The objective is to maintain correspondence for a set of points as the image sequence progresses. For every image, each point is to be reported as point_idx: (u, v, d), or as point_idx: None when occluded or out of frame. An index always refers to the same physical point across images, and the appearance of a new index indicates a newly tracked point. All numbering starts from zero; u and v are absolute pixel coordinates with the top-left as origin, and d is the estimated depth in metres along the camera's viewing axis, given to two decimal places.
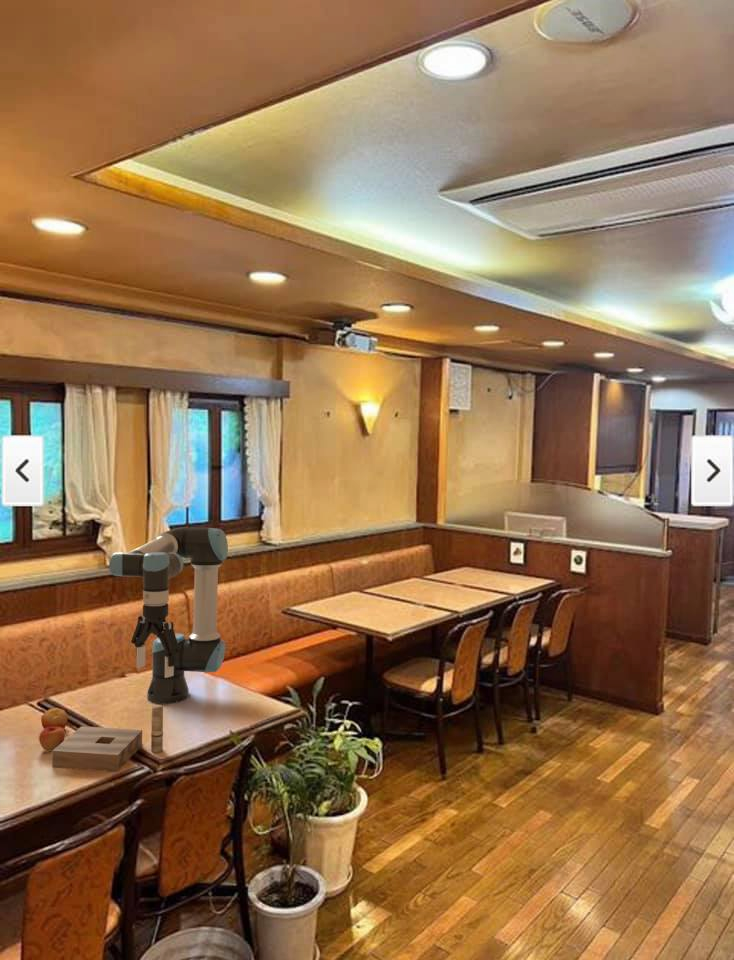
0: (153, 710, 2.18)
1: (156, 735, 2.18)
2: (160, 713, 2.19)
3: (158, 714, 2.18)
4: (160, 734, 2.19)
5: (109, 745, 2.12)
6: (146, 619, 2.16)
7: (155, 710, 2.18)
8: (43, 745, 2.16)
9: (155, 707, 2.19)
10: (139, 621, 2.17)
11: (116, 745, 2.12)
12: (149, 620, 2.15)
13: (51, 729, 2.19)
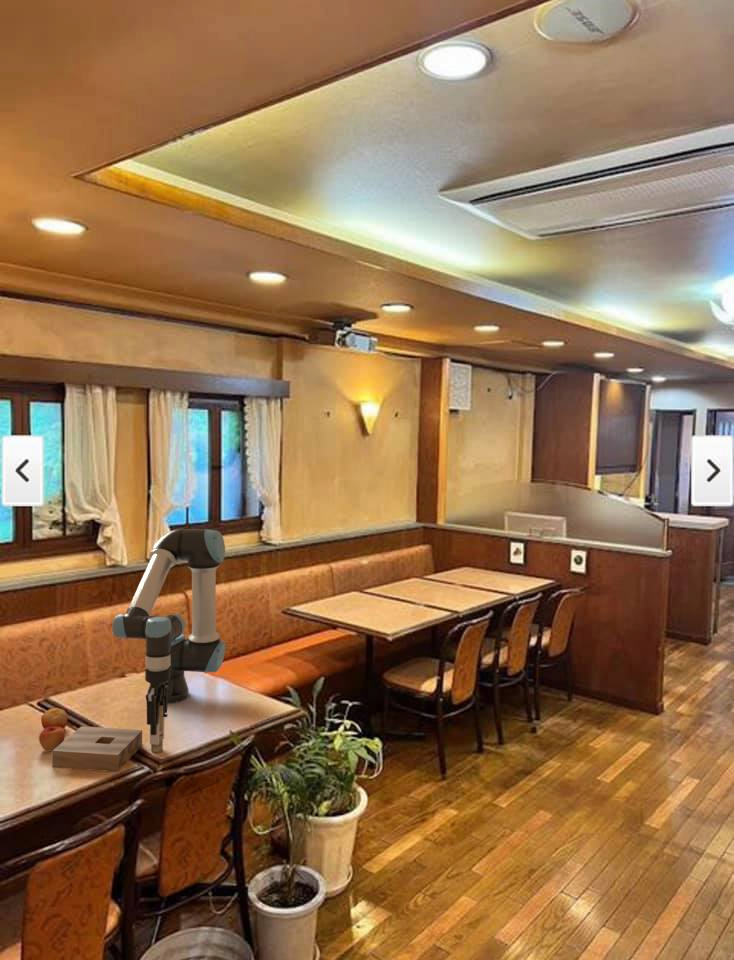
0: None
1: None
2: (160, 713, 2.19)
3: None
4: (160, 734, 2.19)
5: (109, 745, 2.12)
6: None
7: None
8: (43, 745, 2.16)
9: None
10: None
11: (116, 745, 2.12)
12: None
13: (51, 729, 2.19)
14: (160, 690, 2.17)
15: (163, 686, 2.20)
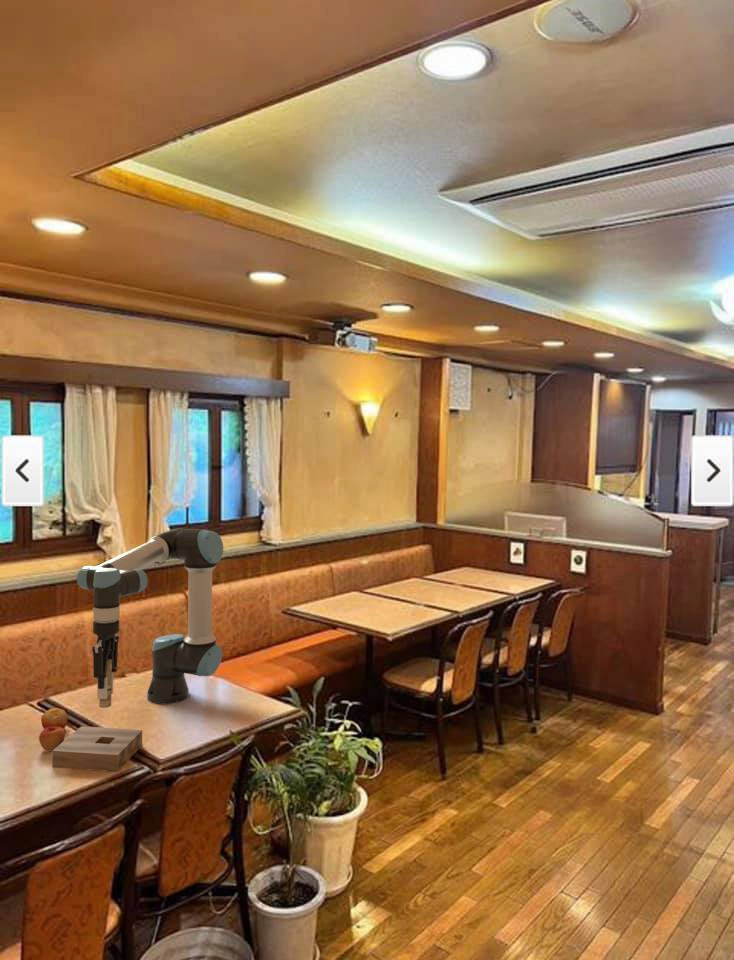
0: None
1: None
2: (108, 666, 2.13)
3: None
4: (108, 688, 2.13)
5: (109, 745, 2.12)
6: None
7: None
8: (43, 745, 2.16)
9: None
10: None
11: (116, 745, 2.12)
12: None
13: (51, 729, 2.19)
14: (108, 643, 2.11)
15: (112, 639, 2.14)
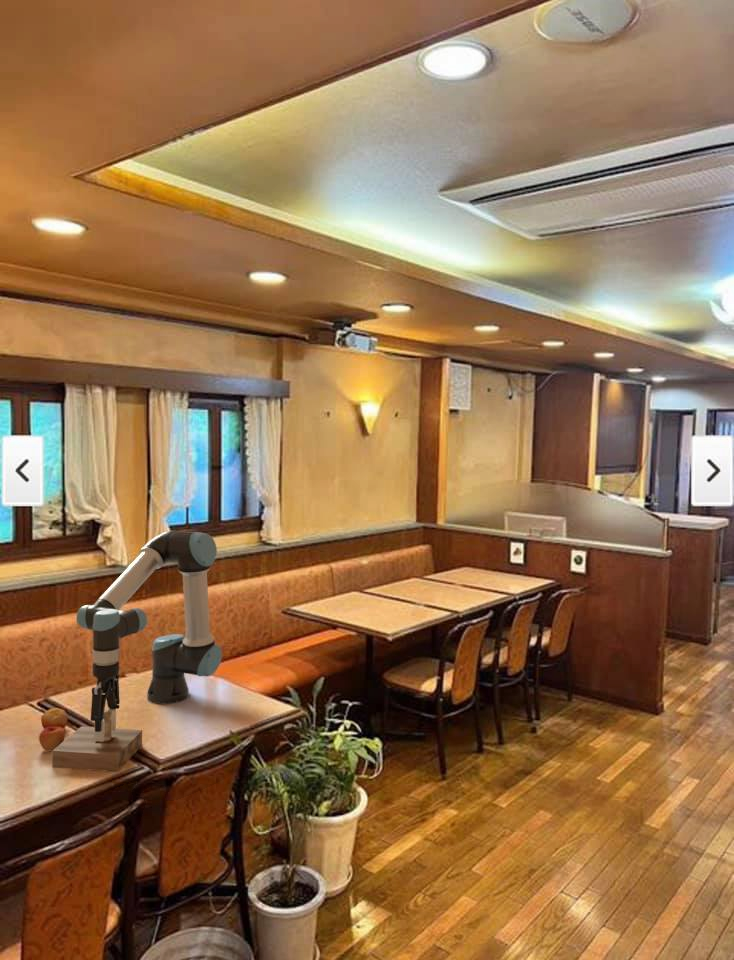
0: None
1: (104, 740, 2.14)
2: (108, 718, 2.14)
3: (106, 719, 2.13)
4: (108, 739, 2.14)
5: (109, 745, 2.12)
6: None
7: (103, 715, 2.13)
8: (43, 745, 2.16)
9: None
10: None
11: (116, 745, 2.12)
12: None
13: (51, 729, 2.19)
14: (108, 684, 2.12)
15: (111, 681, 2.15)
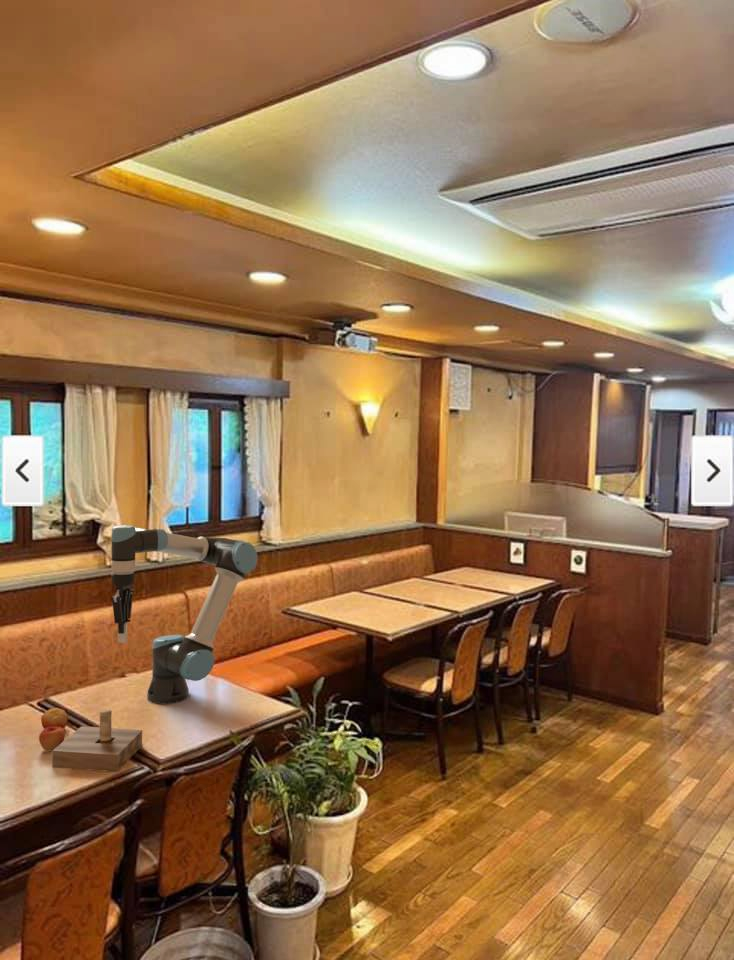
0: (101, 715, 2.13)
1: (104, 740, 2.14)
2: (108, 718, 2.14)
3: (106, 719, 2.13)
4: (108, 739, 2.14)
5: (109, 745, 2.12)
6: None
7: (103, 715, 2.13)
8: (43, 745, 2.16)
9: (103, 712, 2.14)
10: None
11: (116, 745, 2.12)
12: None
13: (51, 729, 2.19)
14: (125, 593, 2.32)
15: (128, 590, 2.35)
